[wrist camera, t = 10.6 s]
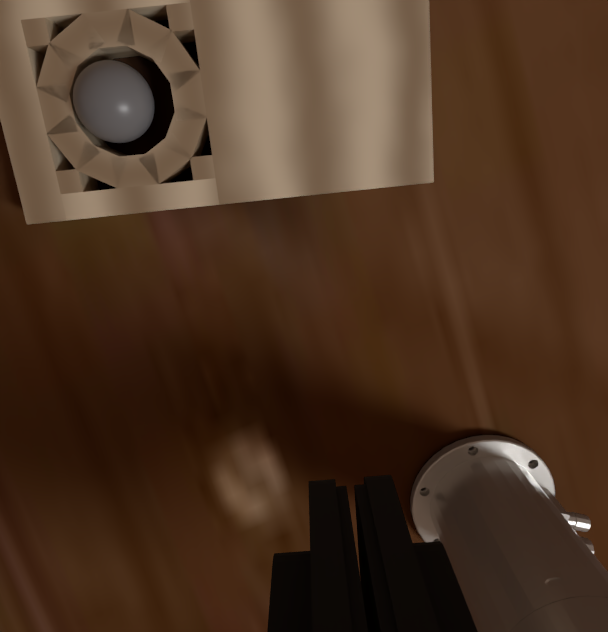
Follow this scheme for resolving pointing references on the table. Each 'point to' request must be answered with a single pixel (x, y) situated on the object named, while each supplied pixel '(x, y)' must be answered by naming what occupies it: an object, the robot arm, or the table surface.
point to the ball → (113, 101)
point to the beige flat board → (219, 101)
